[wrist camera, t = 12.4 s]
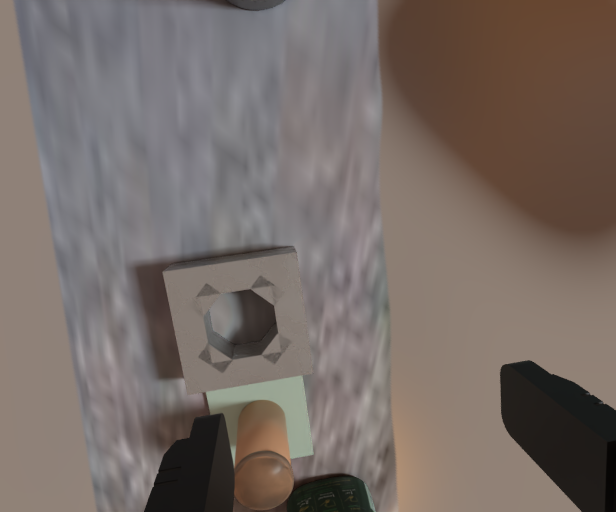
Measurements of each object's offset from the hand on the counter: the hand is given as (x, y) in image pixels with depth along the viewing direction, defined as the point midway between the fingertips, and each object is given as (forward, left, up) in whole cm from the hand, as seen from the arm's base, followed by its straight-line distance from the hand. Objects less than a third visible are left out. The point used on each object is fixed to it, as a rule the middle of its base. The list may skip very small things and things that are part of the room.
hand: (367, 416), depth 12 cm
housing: (+6, -6, -30) cm, 31 cm away
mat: (+18, -6, -30) cm, 35 cm away
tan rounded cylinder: (+18, -6, -29) cm, 35 cm away
